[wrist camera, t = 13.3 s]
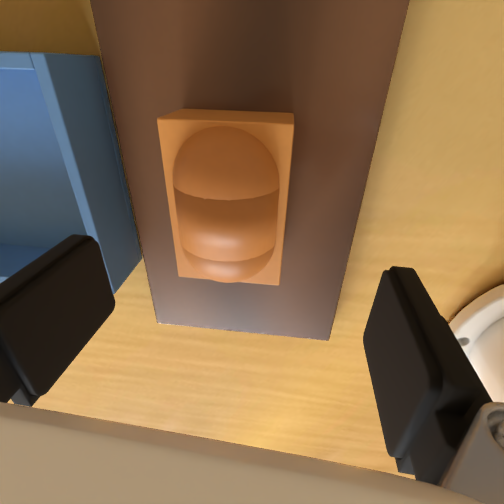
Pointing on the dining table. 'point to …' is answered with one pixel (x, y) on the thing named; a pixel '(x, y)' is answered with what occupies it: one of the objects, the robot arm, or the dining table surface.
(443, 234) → the dining table surface
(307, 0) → the board
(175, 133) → the bread
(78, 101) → the bin
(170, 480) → the robot arm
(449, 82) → the dining table surface
